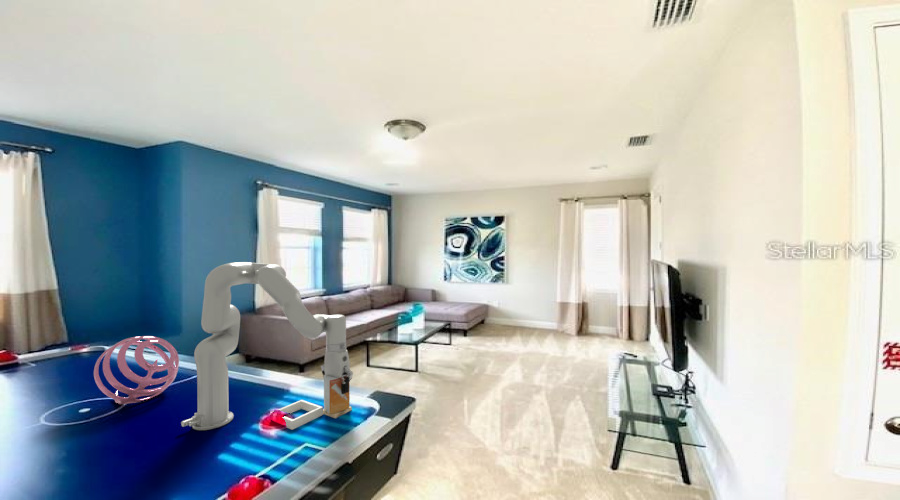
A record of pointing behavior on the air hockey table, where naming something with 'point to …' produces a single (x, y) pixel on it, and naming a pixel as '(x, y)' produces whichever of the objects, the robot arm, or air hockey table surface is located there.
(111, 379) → the spiral basket
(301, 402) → the tray
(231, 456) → the air hockey table surface
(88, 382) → the air hockey table surface
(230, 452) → the air hockey table surface
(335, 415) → the board
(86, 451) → the air hockey table surface
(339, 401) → the small box
